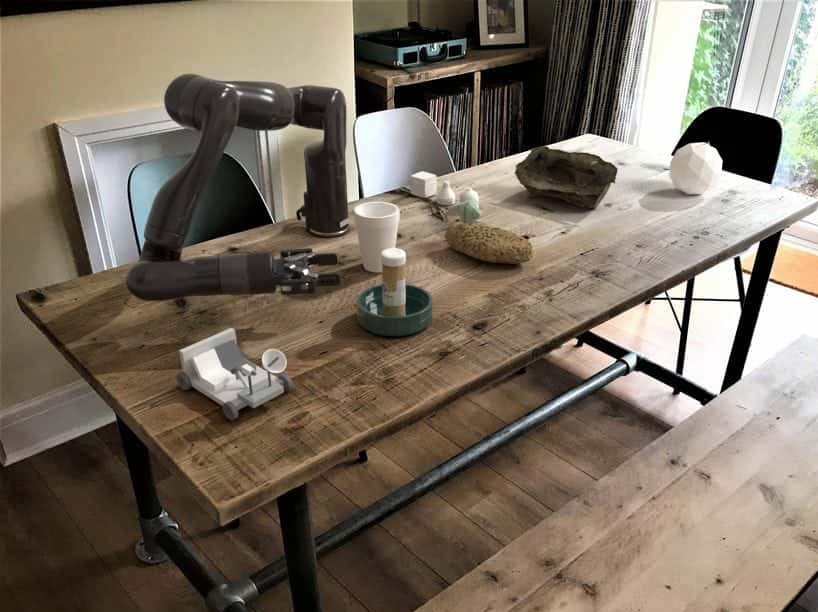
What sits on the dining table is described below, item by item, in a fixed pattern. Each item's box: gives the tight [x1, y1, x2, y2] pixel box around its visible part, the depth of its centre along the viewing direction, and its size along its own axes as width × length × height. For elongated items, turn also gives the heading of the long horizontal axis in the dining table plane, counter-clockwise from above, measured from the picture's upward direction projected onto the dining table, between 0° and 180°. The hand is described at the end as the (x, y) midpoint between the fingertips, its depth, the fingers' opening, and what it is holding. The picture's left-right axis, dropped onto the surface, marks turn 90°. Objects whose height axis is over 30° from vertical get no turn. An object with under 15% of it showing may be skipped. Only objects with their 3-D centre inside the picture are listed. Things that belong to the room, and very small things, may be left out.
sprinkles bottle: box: [381, 247, 407, 317], centre depth 147 cm, size 5×5×14 cm
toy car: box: [176, 327, 294, 421], centre depth 126 cm, size 18×10×12 cm
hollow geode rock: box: [514, 145, 619, 210], centre depth 207 cm, size 28×13×15 cm
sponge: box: [444, 221, 535, 265], centre depth 176 cm, size 13×8×20 cm
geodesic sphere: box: [669, 141, 723, 195], centre depth 215 cm, size 15×14×14 cm
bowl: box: [356, 283, 434, 337], centre depth 150 cm, size 14×14×4 cm
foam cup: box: [353, 201, 401, 273], centre depth 168 cm, size 10×9×13 cm
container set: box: [409, 171, 480, 209], centre depth 205 cm, size 20×5×6 cm, turn 54°
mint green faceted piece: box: [452, 200, 483, 224], centre depth 191 cm, size 8×4×7 cm, turn 56°
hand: (338, 268), depth 144 cm, fingers open, 8 cm apart
